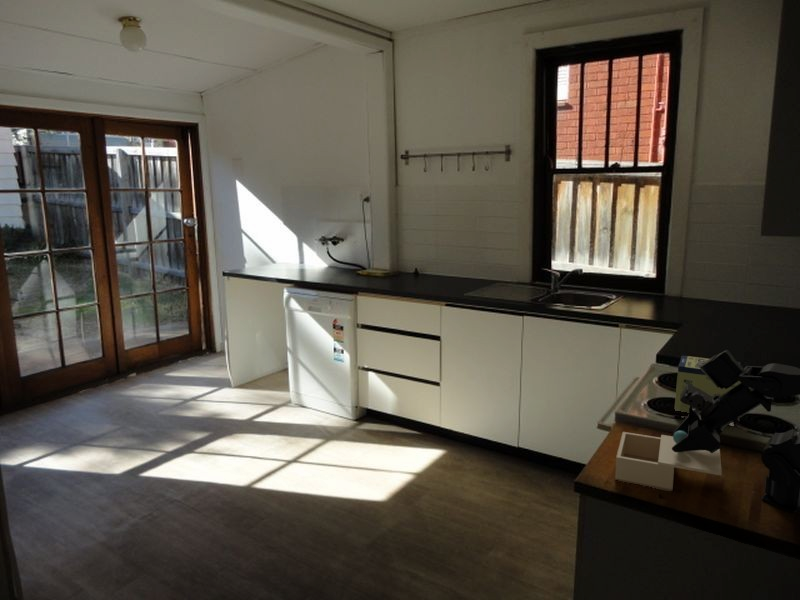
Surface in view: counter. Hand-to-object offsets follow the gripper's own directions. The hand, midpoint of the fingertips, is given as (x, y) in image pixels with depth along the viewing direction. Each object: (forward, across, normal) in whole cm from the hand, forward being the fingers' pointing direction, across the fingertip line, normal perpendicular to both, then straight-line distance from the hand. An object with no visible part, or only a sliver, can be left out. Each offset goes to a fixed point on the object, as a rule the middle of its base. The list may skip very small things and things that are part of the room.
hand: (673, 442), depth 134 cm
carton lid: (-1, 0, +4) cm, 4 cm away
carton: (+10, 0, +2) cm, 10 cm away
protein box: (+1, -40, +12) cm, 41 cm away
